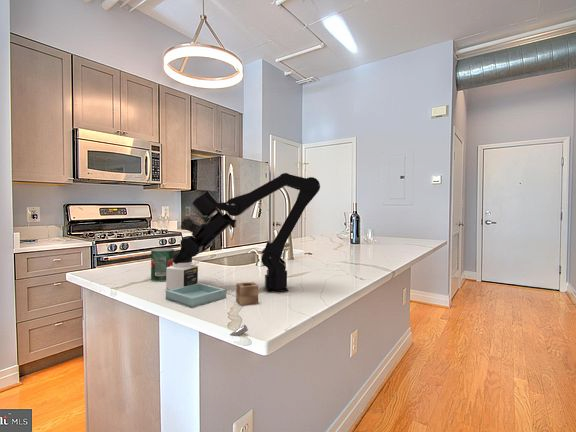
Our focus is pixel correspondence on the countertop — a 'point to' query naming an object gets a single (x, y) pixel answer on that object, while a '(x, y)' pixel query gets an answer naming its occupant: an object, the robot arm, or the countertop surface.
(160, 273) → the canned tomato
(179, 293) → the tray
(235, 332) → the pin gauge
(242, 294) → the brown open box
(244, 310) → the countertop surface
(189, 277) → the medicine bottle
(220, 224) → the robot arm
